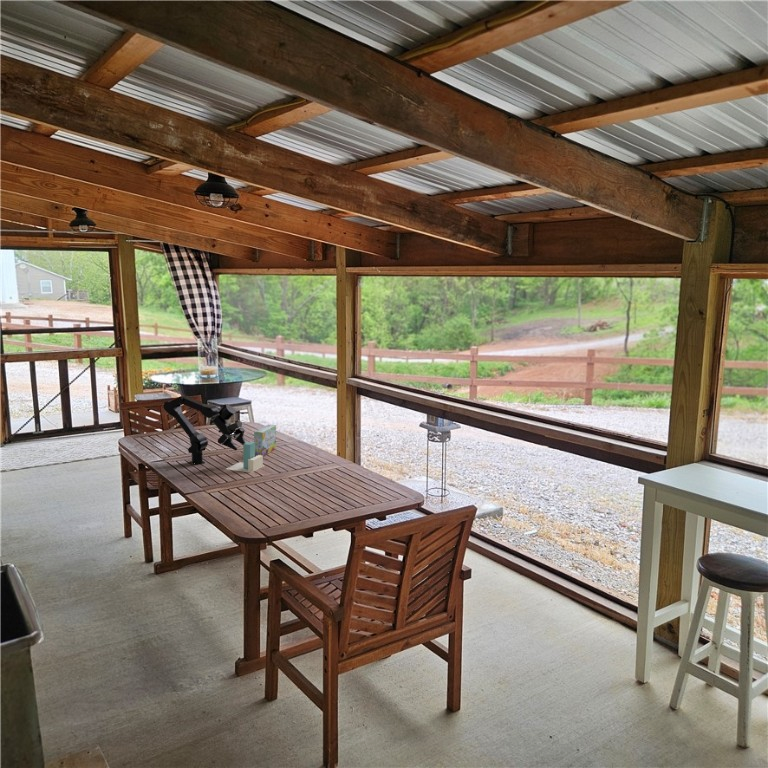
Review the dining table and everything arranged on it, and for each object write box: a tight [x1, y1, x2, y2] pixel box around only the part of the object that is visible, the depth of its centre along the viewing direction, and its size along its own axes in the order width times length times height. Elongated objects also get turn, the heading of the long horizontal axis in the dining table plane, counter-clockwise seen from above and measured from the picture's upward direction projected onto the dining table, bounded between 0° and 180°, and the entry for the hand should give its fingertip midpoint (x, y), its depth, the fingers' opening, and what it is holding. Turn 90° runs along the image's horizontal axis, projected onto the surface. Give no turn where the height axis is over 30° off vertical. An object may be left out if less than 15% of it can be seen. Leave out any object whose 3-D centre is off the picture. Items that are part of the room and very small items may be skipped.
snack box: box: [253, 424, 277, 458], centre depth 366 cm, size 21×6×15 cm, turn 168°
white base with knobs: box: [225, 455, 265, 474], centre depth 334 cm, size 15×14×7 cm
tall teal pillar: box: [242, 441, 255, 469], centre depth 333 cm, size 4×5×13 cm
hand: (241, 447), depth 334 cm, fingers open, 9 cm apart
